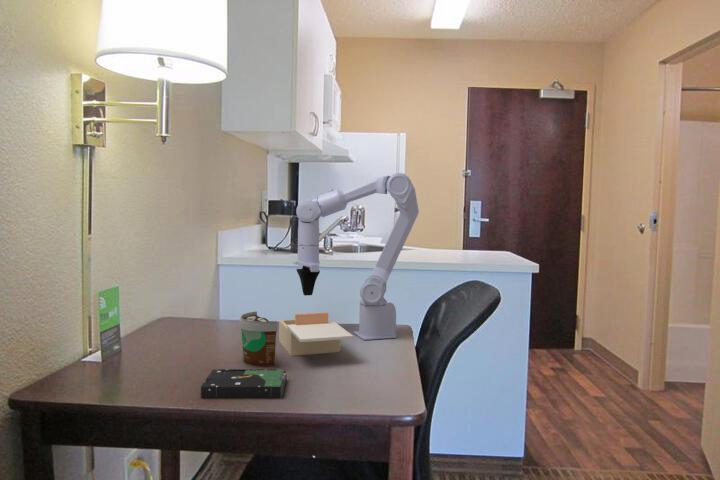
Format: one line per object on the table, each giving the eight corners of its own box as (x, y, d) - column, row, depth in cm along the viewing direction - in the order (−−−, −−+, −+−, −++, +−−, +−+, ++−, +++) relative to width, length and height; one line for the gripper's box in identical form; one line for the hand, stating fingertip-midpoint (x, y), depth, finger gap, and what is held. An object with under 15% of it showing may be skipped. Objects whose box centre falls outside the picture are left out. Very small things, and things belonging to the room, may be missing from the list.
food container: (230, 356, 123) (230, 313, 122) (255, 352, 126) (255, 310, 125) (250, 371, 112) (250, 324, 112) (277, 367, 116) (277, 321, 115)
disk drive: (200, 402, 97) (282, 400, 98) (199, 386, 97) (282, 385, 98) (212, 382, 107) (286, 381, 108) (211, 368, 107) (286, 367, 108)
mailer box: (323, 337, 141) (324, 317, 141) (340, 351, 128) (340, 330, 128) (278, 340, 137) (279, 320, 137) (290, 355, 124) (291, 333, 124)
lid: (334, 324, 132) (334, 311, 132) (353, 338, 119) (353, 324, 119) (286, 327, 128) (286, 314, 128) (300, 342, 115) (300, 327, 115)
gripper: (288, 242, 150) (287, 291, 151) (300, 247, 136) (299, 300, 137) (312, 242, 152) (311, 290, 153) (327, 247, 139) (326, 299, 140)
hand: (307, 295), depth 145 cm, fingers closed
